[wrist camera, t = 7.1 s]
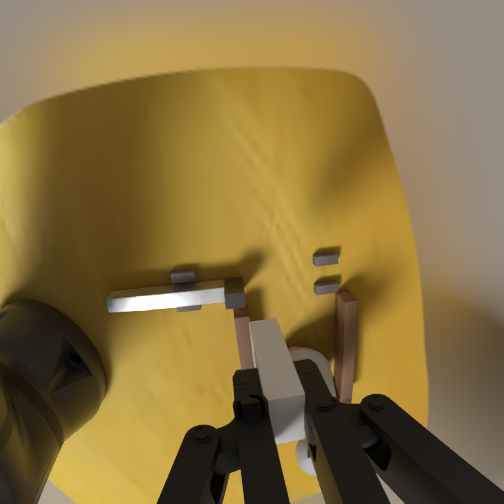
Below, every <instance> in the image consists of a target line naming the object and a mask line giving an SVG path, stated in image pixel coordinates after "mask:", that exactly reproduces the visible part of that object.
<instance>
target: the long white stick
mask: <svg viewBox="0 0 504 504" xmlns="http://www.w3.org/2000/svg"><path fill="white" fill-rule="evenodd" d="M220 302H225V304H226V309H232V308H241V307H246V301H245V293H244V286H243V280H242V277H238V278H229V279H221V280H212V281H203V282H194V283H185V284H176V285H166V286H157V287H147V288H137V289H127V290H117V291H112V292H111V294H110V295H109V296H108V297H107V298H106V303H107V307H108V311H109V313H113V312H126V311H138V310H150V309H161V308H171V307H182V306H192V305H201V304H210V303H220Z"/></svg>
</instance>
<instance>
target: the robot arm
mask: <svg viewBox="0 0 504 504" xmlns="http://www.w3.org/2000/svg"><path fill="white" fill-rule="evenodd" d="M249 328H250V336H251V345H252V353H253V361H254V367H255V368H251V369H243V370H236V372H235V374H234V376H233V388H234V399H235V400H234V402H233V410H234V415H235V417H234V419H233V420H232V421H231V422H230V423H229V424H228V425H226V426H223V427H221V428H218V429H216V428H214V427H213V426H210V425H198V426H195V427H193V428H191V429H190V430H188V432H187V433H186V434H185V437H184V439H183V441H182V444H181V446H180V449H179V451H178V454H177V456H176V458H175V461H174V463H173V466H172V468H171V470H170V473H169V475H168V478H167V480H166V482H165V485H164V487H163V490H162V492H161V494H160V497H159V499H158V502H157V504H222V503H223V499H224V495H225V491H226V487H227V483H228V479H229V473H232V472H234V471H237V470H240V469H241V476H242V485H243V493H244V502H245V504H290V502H289V497H288V493H287V489H286V485H285V481H284V476H283V472H282V468H281V464H280V459H279V455H278V451H277V446H276V444H281V443H286V442H292V441H297V440H303V439H305V433H306V436H307V439H308V447H307V458H310V457H311V460H312V463H313V466H314V469H315V472H316V475H317V478H318V482H319V485H320V488H321V491H322V494H323V497H324V500H325V503H326V504H390V502H389V499H388V497H387V495H386V493H385V491H384V489H383V487H382V485H381V483H380V481H379V479H378V477H377V475H376V473H377V474H378V475H379V477H380V478H381V479H382V480H383V481H384V482H385V483H386V484H387V485H388V486H389V487H390V488H391V489H392V490H393V492H394V493H395V494H396V495H397V496H398V497H399V498H400V499H401V500H402V501H403V502H404V503H405V504H504V491H503V490H501V489H500V488H499V487H498V486H496V485H495V484H494V483H492V482H491V481H490V480H489V479H487V478H486V477H485V476H484V475H482V474H481V473H480V472H479V471H477V470H476V469H475V468H474V467H472V466H471V465H470V464H468V463H467V462H466V461H465V460H464V459H462V458H461V457H460V456H459V455H458V454H456V453H455V452H454V451H453V450H451V449H450V448H449V447H448V446H446V445H445V444H444V443H443V442H442V441H440V440H439V439H438V438H437V437H435V436H434V435H433V434H432V433H431V432H429V431H428V430H427V429H426V428H425V427H423V426H422V425H421V424H420V423H419V422H417V421H416V420H415V419H414V418H413V417H411V416H410V415H409V414H408V413H407V412H405V411H404V410H403V409H402V408H401V407H399V406H398V405H397V404H396V403H395V402H393V401H392V400H391V399H390V398H389V397H387V396H385V395H382V394H371V395H368V396H366V397H365V398H363V399H362V401H361V403H360V404H347V403H342V402H340V401H339V400H338V399H337V398H336V397H334V396H332V395H331V393H330V390H329V388H328V386H327V384H326V382H325V380H324V378H323V377H322V374H321V372H320V370H319V368H318V366H317V364H316V363H315V362H313V361H312V360H311V359H304V360H298V361H292V359H291V356H290V353H289V351H288V348H287V346H286V343H285V340H284V338H283V335H282V332H281V330H280V327H279V325H278V322H277V319H276V318H272V319H265V320H258V321H251V322H249ZM105 392H106V375H105V370H104V367H103V364H102V361H101V359H100V357H99V355H98V353H97V351H96V349H95V348H94V346H93V344H92V343H91V342H90V340H89V339H88V338H87V336H86V335H85V334H84V333H83V332H82V330H81V329H80V328H79V327H78V326H77V325H76V324H75V323H74V322H72V321H71V320H70V319H69V318H68V317H66V316H65V315H64V314H62V313H61V312H59V311H58V310H56V309H54V308H53V307H51V306H49V305H46V304H44V303H41V302H38V301H34V300H16V301H13V302H11V303H9V304H7V305H6V306H5V307H3V308H2V309H1V310H0V504H37V503H38V501H39V499H40V496H41V493H42V491H43V489H44V486H45V484H46V481H47V479H48V477H49V474H50V472H51V470H52V467H53V465H54V463H55V460H56V458H57V456H58V453H59V451H60V449H61V447H62V445H63V443H64V441H65V440H66V439H68V438H69V437H70V436H71V435H73V434H74V433H75V432H76V431H77V430H79V429H80V428H81V427H82V426H83V425H85V424H86V423H87V422H88V421H89V420H90V419H92V418H93V417H94V415H95V414H96V413H97V411H98V409H99V407H100V405H101V403H102V401H103V398H104V396H105ZM375 472H376V473H375Z"/></svg>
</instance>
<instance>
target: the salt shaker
mask: <svg viewBox="0 0 504 504" xmlns="http://www.w3.org/2000/svg"><path fill="white" fill-rule="evenodd" d="M288 351H289V353H290V356H291V359H292V361H298V360H304V359H311V360H312V361H313V362H315V363H316V364H317V366H318V368H319V370H320V372H321V374H322V377H323V378H324V380H325V382H326V384H327V386H328V388H329V390H330V393H331V395H332V396H334V397H336V393H335V388H334V383H333V377H332V372H331V367H330V363H329V361H328V360H327V359H326V358H325V357H324V356H323V355H322V354H321V353H320V352H319V351H316V350H314V349H311V348H308V347H296V346H291V347H289V348H288ZM307 447H308V439H307V436H306V433H305V439H303V440H299V441H298V444H297V446H296V450H295V451H296V457H297V460H298V464H299V466H300V468H301V470H302V471H304V472H306V473H308V474H310V475H313V476H317V475H316V472H315V469H314V466H313V463H312V460H311V457H310V458H307Z"/></svg>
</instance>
